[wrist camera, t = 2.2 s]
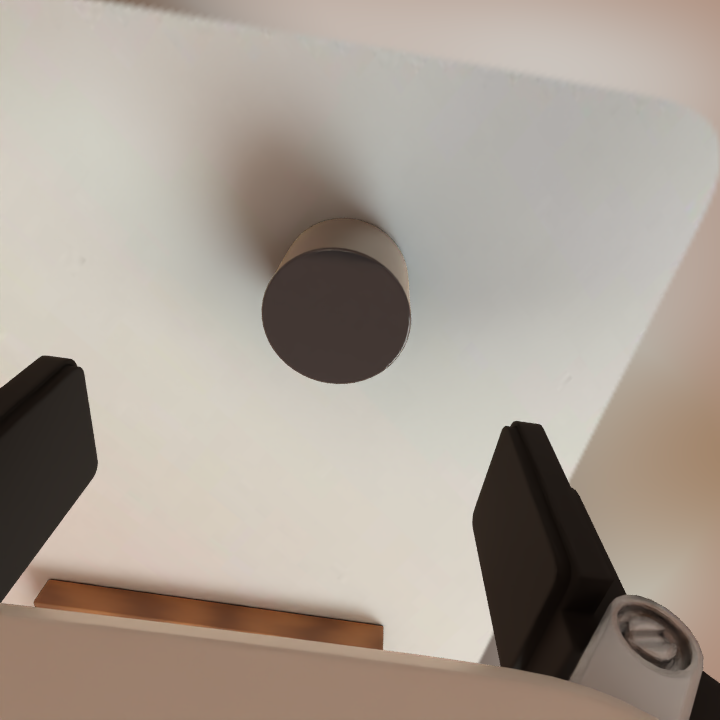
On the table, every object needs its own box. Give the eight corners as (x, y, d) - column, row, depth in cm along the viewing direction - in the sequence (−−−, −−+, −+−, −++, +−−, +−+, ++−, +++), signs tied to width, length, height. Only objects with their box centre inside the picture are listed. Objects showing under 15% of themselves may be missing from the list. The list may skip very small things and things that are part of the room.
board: (383, 625, 30) (383, 652, 28) (343, 772, 40) (341, 797, 38) (48, 578, 29) (31, 603, 28) (93, 739, 39) (82, 763, 38)
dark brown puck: (381, 196, 17) (378, 223, 14) (425, 314, 19) (431, 360, 16) (260, 245, 18) (234, 280, 15) (314, 351, 21) (300, 400, 17)
